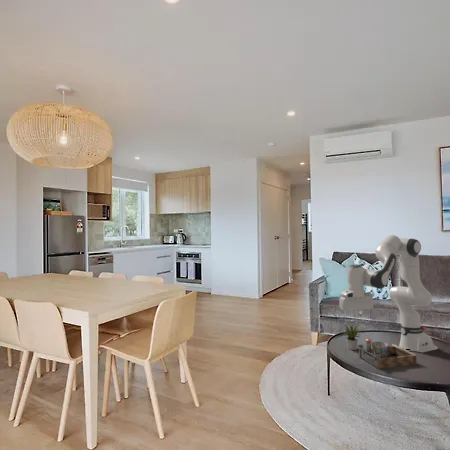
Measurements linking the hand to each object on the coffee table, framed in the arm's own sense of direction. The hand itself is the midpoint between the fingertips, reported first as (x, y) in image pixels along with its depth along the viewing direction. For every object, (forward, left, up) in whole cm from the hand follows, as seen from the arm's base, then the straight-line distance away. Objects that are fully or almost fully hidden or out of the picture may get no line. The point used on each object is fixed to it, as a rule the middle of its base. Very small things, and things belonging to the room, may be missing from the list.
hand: (356, 316), depth 192 cm
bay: (-18, 0, -27) cm, 33 cm away
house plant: (-12, -23, -27) cm, 38 cm away
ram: (-7, 0, -27) cm, 28 cm away
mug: (-14, 0, -27) cm, 31 cm away
